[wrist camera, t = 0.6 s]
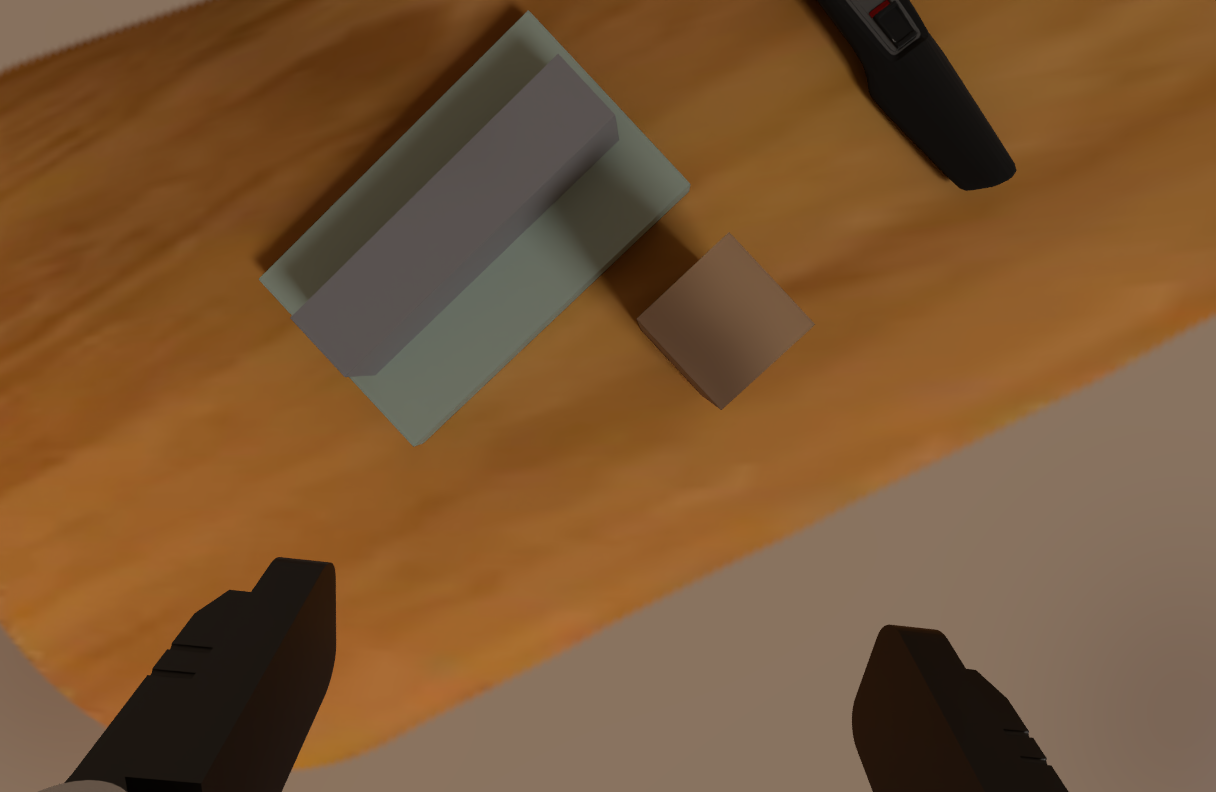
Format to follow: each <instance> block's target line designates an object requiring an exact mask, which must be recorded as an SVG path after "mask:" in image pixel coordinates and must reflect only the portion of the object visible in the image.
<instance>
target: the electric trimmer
mask: <svg viewBox="0 0 1216 792" xmlns="http://www.w3.org/2000/svg"><path fill="white" fill-rule="evenodd" d="M817 1H818V2H819V3H820V5H821V6H822V7H823V9H824V10H825V11H826V13H827V14H828V15H829V17H830V18H831V19H832V21H833V22H834V23H835V25H836V26H837V27H838V29H839V30H840V31H841V33H842V34H843V35H844V37H845V38H846V39H847V41H848V42H849V43H850V45H851V46H852V48H853V49H854V51H855V52H856V54H857V56H858V57H859V59H860V60H861V62H862V64H863V66H864V70H865V73H866V77H867V82H868V88H869V93H870V95H871V97H872V98H873V99H874V100H875V101H876V103H877V104H878V105H879V106H880V107H881V108H882V110H883V111H884V112H885V113H886V114H887V115H888V116H889V117H890V118H891V119H892V120H893V121H894V122H895V123H896V124H897V125H898V126H899V127H900V128H901V129H902V130H903V131H904V132H905V134H906V135H907V136H908V137H909V138H910V139H911V140H912V141H913V142H914V143H915V144H916V145H917V146H918V147H919V148H920V149H921V150H922V151H923V152H924V153H925V154H926V155H927V156H928V157H929V158H930V159H931V160H932V161H933V162H934V163H935V164H936V165H937V166H938V167H939V168H940V169H941V170H942V172H943V173H944V174H945V175H946V176H947V177H948V178H949V179H950V180H951V181H952V182H953V183H954V184H956V185H957V186H958V187H959V188H960V189H963V190H966V191H967V190H976V189H982V188H988V187H993V186H996V185H999V184H1001V183H1003V182H1005V181H1007V180H1009V179H1010V178H1012V177H1013V175H1014V174H1015V172H1016V167H1015V163H1014V162H1013V160H1012V159H1011V157H1010V156H1009V154H1008V152H1007V151H1006V149H1005V148H1004V146H1003V144H1002V143H1001V141H1000V140H999V138H998V137H997V135H996V133H995V132H994V130H993V129H992V127H991V126H990V124H989V122H988V121H987V119H986V118H985V116H984V115H983V113H982V112H981V110H980V108H979V107H978V105H977V104H976V102H975V101H974V99H973V98H972V96H971V94H970V93H969V91H968V90H967V88H966V87H965V85H964V84H963V82H962V81H961V79H960V77H959V76H958V74H957V73H956V71H955V70H954V68H953V67H952V65H951V63H950V62H949V60H948V59H947V57H946V56H945V54H944V53H943V51H942V50H941V49H940V47H939V46H938V44H937V43H936V42H935V40H934V39H933V38H932V36H931V35H930V34H929V32H928V30H927V29H926V27H925V25H924V24H923V22H922V20H921V18H920V17H919V15H918V13H917V12H916V10H915V8H914V7H913V5H912V4H911V2H910V1H909V0H817Z"/></svg>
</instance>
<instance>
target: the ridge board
mask: <svg viewBox="0 0 1216 792" xmlns="http://www.w3.org/2000/svg"><path fill="white" fill-rule="evenodd" d="M689 188H690V183H689V182H688V181H687V180H686V179H685V178H684V177H683V176H682V175H681V174H680V172H679V171H678V170H677V169H676V168H675V167H674V166H673V165H672V164H671V163H670V162H669V161H668V160H667V158H666V157H665V156H664V155H663V154H662V153H661V152H660V151H659V150H658V149H657V148H656V147H655V146H654V145H653V143H652V142H651V141H650V140H649V139H648V138H647V137H646V136H645V135H644V134H643V133H642V132H641V131H640V129H639V128H638V127H637V126H636V125H635V124H634V123H633V122H632V121H631V120H630V119H629V118H628V117H627V116H626V114H625V113H624V112H623V111H622V110H621V109H620V108H619V107H618V106H617V105H616V104H615V103H614V102H613V101H612V99H611V98H610V97H609V96H608V95H607V94H606V93H605V92H604V91H603V90H602V89H601V88H600V87H599V85H598V84H597V83H596V82H595V81H594V80H593V79H592V78H591V77H590V76H589V75H588V74H587V73H586V72H585V70H584V69H583V68H582V67H581V66H580V65H579V64H578V63H577V62H576V61H575V60H574V59H573V58H572V56H571V55H570V54H569V53H568V52H567V51H566V50H565V49H564V48H563V47H562V46H561V45H560V44H559V43H558V41H557V40H556V39H555V38H554V37H553V36H552V35H551V34H550V33H549V32H548V31H547V30H546V29H545V27H544V26H543V25H542V24H541V23H540V22H539V21H538V20H537V19H536V18H535V17H534V16H533V15H532V14H531V12H530V11H529V10H528V11H527V12H526V13H525V14H524V15H523V16H522V17H521V18H520V19H519V20H518V21H517V22H516V23H515V24H514V25H513V26H512V27H511V28H510V29H509V30H508V31H507V32H506V33H505V34H504V35H503V36H502V37H501V38H500V39H499V40H498V41H497V42H496V43H495V44H494V45H493V46H492V47H491V48H490V49H489V50H488V51H487V52H486V53H485V54H484V55H483V56H482V57H481V58H480V59H479V60H478V61H477V62H476V63H475V64H474V65H473V66H472V67H471V68H470V69H469V70H468V71H467V72H466V73H465V74H464V75H463V76H462V77H461V78H460V79H459V80H458V81H457V82H456V83H455V84H454V85H453V86H452V87H451V88H450V89H449V90H448V91H447V92H446V93H445V94H444V95H443V96H442V97H441V98H440V99H439V100H438V101H437V102H436V103H435V104H434V105H433V106H432V107H431V108H430V109H429V110H428V111H427V112H426V113H425V114H424V115H423V116H422V117H421V118H420V119H419V120H418V121H417V122H416V123H415V124H414V125H413V126H412V127H411V128H410V129H409V130H408V131H407V132H406V133H405V134H404V135H403V136H402V137H401V138H400V139H399V140H398V141H397V142H396V143H395V144H394V145H393V146H392V147H391V148H390V149H389V150H388V151H387V152H386V153H385V154H384V155H383V156H382V157H381V158H380V159H379V160H378V161H377V162H376V163H375V164H374V165H373V166H372V167H371V168H370V169H369V170H368V171H367V172H366V173H365V174H364V175H363V176H362V177H361V178H360V179H359V180H358V181H357V182H356V183H355V184H354V185H353V186H352V187H351V188H350V189H349V190H348V191H347V192H346V193H345V194H344V195H343V196H342V197H340V198H339V199H338V200H337V201H336V202H335V203H334V204H333V205H332V206H331V207H330V208H329V209H328V210H327V211H326V212H325V213H324V214H323V215H322V216H321V217H320V218H319V219H318V220H317V221H316V222H315V223H314V224H313V225H312V226H311V227H310V228H309V229H308V230H307V231H306V232H305V233H304V234H303V235H302V236H301V237H300V238H299V239H298V240H297V241H296V242H295V243H294V244H293V245H292V246H291V247H290V248H289V249H288V250H287V251H286V252H285V253H284V254H283V255H282V256H281V257H280V258H279V259H278V260H277V261H276V262H275V263H274V264H273V265H272V266H271V267H270V268H269V269H268V270H267V271H266V272H265V273H264V274H263V275H262V276H261V277H260V278H259V280H260V281H261V282H262V283H263V285H264V286H265V287H266V288H267V289H268V290H269V291H270V292H271V293H272V294H273V295H274V296H275V298H276V299H277V300H278V301H279V302H280V303H281V304H282V305H283V306H284V307H285V308H286V309H287V310H288V312H289V313H290V314H291V315H292V316H291V317H290V318H291V319H292V320H293V322H294V323H295V324H296V325H297V326H298V327H299V328H300V329H301V330H302V331H303V332H304V333H305V334H306V336H307V337H308V338H309V339H310V340H311V341H312V342H313V343H314V344H315V345H316V346H317V347H318V349H319V350H320V351H321V352H322V353H323V354H324V355H325V356H326V357H327V358H328V359H329V360H330V361H331V363H332V364H333V365H334V366H335V367H336V368H337V369H338V370H339V371H340V372H341V373H342V374H343V376H344V377H350V379H351V380H352V381H353V382H354V383H355V384H356V385H357V386H358V387H359V388H360V389H361V390H362V391H363V393H364V394H365V395H366V396H367V397H368V398H369V399H370V400H371V401H372V402H373V403H374V404H375V406H376V407H377V408H378V409H379V410H380V411H381V412H382V413H383V414H384V415H385V416H386V417H387V418H388V420H389V421H390V422H391V423H392V424H393V425H394V426H395V427H396V428H397V429H398V430H399V431H400V433H401V434H402V435H403V436H404V437H405V438H406V439H407V440H408V441H409V442H410V443H411V444H412V445H413V447H414V446H417V445H420V444H422V443H424V442H425V441H426V440H427V439H428V438H429V437H430V436H431V435H433V434H434V433H435V432H436V431H437V430H438V429H439V428H440V427H441V426H442V425H443V424H444V423H445V422H446V421H447V420H448V419H449V418H450V417H451V416H453V415H454V414H455V413H456V412H457V411H458V410H459V409H460V408H461V407H462V406H463V405H464V404H465V403H466V402H467V401H468V400H469V399H470V398H472V397H473V396H474V395H475V394H476V393H477V392H478V391H479V390H480V389H481V388H482V387H483V386H484V385H485V384H486V383H487V382H488V381H489V380H491V379H492V378H493V377H494V376H495V375H496V374H497V373H498V372H499V371H500V370H501V369H502V368H503V367H504V366H505V365H506V364H507V363H508V362H510V361H511V360H512V359H513V358H514V357H515V356H516V355H517V354H518V353H519V352H520V351H521V350H522V349H523V348H524V347H525V346H526V345H527V344H529V343H530V342H531V341H532V340H533V339H534V338H535V337H536V336H537V335H538V334H539V333H540V332H541V331H542V330H543V329H544V328H545V327H546V326H548V325H549V324H550V323H551V322H552V321H553V320H554V319H555V318H556V317H557V316H558V315H559V314H560V313H561V312H562V311H563V310H564V309H565V308H566V307H568V306H569V305H570V304H571V303H572V302H573V301H574V300H575V299H576V298H577V297H578V296H579V295H580V294H581V293H582V292H583V291H584V290H585V289H587V288H588V287H589V286H590V285H591V284H592V283H593V282H594V281H595V280H596V279H597V278H598V277H599V276H600V275H601V274H602V273H603V272H604V271H606V270H607V269H608V268H609V267H610V266H611V265H612V264H613V263H614V262H615V261H616V260H617V259H618V258H619V257H620V256H621V255H622V254H623V253H625V252H626V251H627V250H628V249H629V248H630V247H631V246H632V245H633V244H634V243H635V242H636V241H637V240H638V239H639V238H640V237H641V236H642V235H644V234H645V233H646V232H647V231H648V230H649V229H650V228H651V227H652V226H653V225H654V224H655V223H656V222H657V221H658V220H659V219H660V218H661V217H662V216H664V215H665V214H666V213H667V212H668V211H669V210H670V209H671V208H672V207H673V206H674V205H675V204H676V203H677V202H678V201H679V200H680V199H681V198H683V197H684V196H685V195H686V194H687V193H688V192H689Z"/></svg>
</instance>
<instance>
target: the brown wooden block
mask: <svg viewBox="0 0 1216 792" xmlns="http://www.w3.org/2000/svg"><path fill="white" fill-rule="evenodd" d="M637 321H638V324H639V326H640V329H641V330H642V332H643V333H644V334H645V335H646V336H647V337H648V338H649V339H650V340H651V341H652V342H653V343H654V344H655V346H656V347H657V348H658V349H659V350H660V351H661V352H662V353H663V354H664V355H665V356H666V357H667V358H668V359H669V361H670V362H671V363H672V364H673V365H674V366H675V367H676V368H677V369H678V370H679V371H680V372H681V373H682V375H683V376H684V377H685V378H686V379H687V380H688V381H689V382H690V383H691V384H692V385H693V386H694V387H695V389H696V390H697V391H698V392H699V393H700V394H701V395H702V396H703V397H704V398H706V399H707V400H709V401H710V402H711V403H713V404H714V405H715V406H717V407H718V408H719V409H721V410H722V409H723V408H724V407H725V406H726V405H727V404H728V403H730V402H731V401H732V400H733V399H734V398H735V397H736V396H737V395H738V394H739V393H741V392H742V391H743V390H744V389H745V388H746V387H747V386H748V385H749V384H750V383H752V382H753V381H754V380H755V379H756V378H757V377H758V376H759V375H760V374H761V373H762V372H764V371H765V370H766V369H767V368H768V367H769V366H770V365H771V364H772V363H773V362H775V361H776V360H777V359H778V358H779V357H780V356H781V355H782V354H783V353H784V352H786V351H787V350H788V349H789V348H790V347H791V346H792V345H793V344H794V343H795V342H796V341H798V340H799V339H800V338H801V337H802V336H803V335H804V334H805V333H806V332H807V331H809V330H810V329H811V328H812V327H813V326H814V325H815V324H814V323H813V322H812V321H811V320H810V318H809V317H808V316H807V315H806V314H805V313H804V312H803V311H802V310H801V309H800V308H799V307H798V306H797V304H796V303H795V302H794V301H793V300H792V299H791V298H790V297H789V296H788V295H787V294H786V293H785V292H784V291H783V289H782V288H781V287H780V286H779V285H778V284H777V283H776V282H775V281H774V280H773V279H772V278H771V277H770V275H769V274H768V273H767V272H766V271H765V270H764V269H763V268H762V267H761V266H760V265H759V264H758V263H757V262H756V260H755V259H754V258H753V257H752V256H751V255H750V254H749V253H748V252H747V251H746V250H745V249H744V248H743V246H742V245H741V244H740V243H739V242H738V241H737V240H736V239H735V238H734V237H733V236H732V235H731V234H730V233H728V234H726V235H725V236H724V237H723V238H722V239H721V240H720V241H719V242H718V243H717V244H716V245H715V246H714V247H713V248H712V249H710V250H709V251H708V252H707V253H706V254H705V255H704V256H703V257H702V258H701V259H700V260H699V261H698V262H697V263H696V264H694V265H693V266H692V267H691V268H690V269H689V270H688V271H687V272H686V273H685V274H684V275H683V276H682V277H681V278H679V279H678V280H677V281H676V282H675V283H674V284H673V285H672V286H671V287H670V288H669V289H668V290H667V291H666V292H665V293H663V294H662V295H661V296H660V297H659V298H658V299H657V300H656V301H655V302H654V303H653V304H652V305H651V306H650V307H649V308H647V309H646V310H645V311H644V312H643V313H642V314H641V315H640V316H639V317H638V318H637Z"/></svg>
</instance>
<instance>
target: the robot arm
mask: <svg viewBox="0 0 1216 792" xmlns="http://www.w3.org/2000/svg"><path fill="white" fill-rule="evenodd" d="M335 654H336V576H335V568H334V565H333V564H332V563H329V562H320V561H311V560H301V559H292V558H283V557H278V558H276V559H274V560H273V561H272V563H271V564H270V565H269V567H268V568H267V570H266V571H265V573H264V574H263V576H262V577H261V578H260V580H259V581H258V583H257V584H256V586H255V587H254V589H253V590H252V592H245V591H236V590H229V591H227V592H226V593H224V594H223V595H221V596H220V597H218V598H217V599H215V600H214V601H212V602H211V603H209V604H208V605H206V606H205V607H203V608H202V609H201V610H199V611H198V612H196V613H195V614H194V615H193V616H192V618H191V619H190V620H189V621H188V623H187V624H186V625H185V627H184V628H183V629H182V631H181V632H180V633H179V635H178V636H177V637H176V639H175V640H174V641H173V642H172V646H171V649H170V650H168V649H167V650H166V652H165V653H164V654H163V656H162V657H161V658H160V659H159V661H158V662H157V663H156V665H155V666H154V667H153V670H152V674H151V675H147V677H146V678H145V679H144V680H143V682H142V683H141V684H140V686H139V687H138V688H137V690H136V691H135V692H134V694H133V695H132V696H131V697H130V699H129V700H128V701H127V703H126V704H125V705H124V707H123V708H122V709H121V711H120V712H119V713H118V715H117V716H116V717H115V718H114V720H113V721H112V722H111V724H110V725H109V726H108V728H107V729H106V730H105V732H104V733H103V734H102V735H101V737H100V738H99V739H98V741H97V742H96V743H95V745H94V746H93V747H92V749H91V750H90V751H89V753H88V754H87V755H86V756H85V758H84V759H83V760H82V762H81V763H80V764H79V766H78V767H77V768H76V770H75V771H74V772H73V774H72V775H71V776H70V777H69V778H68V779H67V781H66V782H65V783H63V784H59V785H56V786H53V787H50V788H47V789H44V790H42V791H39V792H282V790H283V787H284V785H285V783H286V781H287V779H288V776H289V774H290V772H291V770H292V767H293V765H294V763H295V761H296V759H297V756H298V754H299V752H300V750H301V747H302V745H303V743H304V741H305V739H306V736H307V734H308V732H309V730H310V727H311V725H312V723H313V721H314V719H315V716H316V714H317V712H318V710H319V707H320V705H321V703H322V701H323V699H324V696H325V694H326V691H327V689H328V686H329V683H330V679H331V676H332V672H333V667H334V661H335ZM852 730H853V737H854V742H855V745H856V748H857V751H858V754H859V756H860V759H861V762H862V764H863V767H864V769H865V772H866V775H867V777H868V780H869V783H870V785H871V788H872V791H873V792H1068V790H1067V789H1066V788H1065V786H1064V784H1063V783H1062V781H1061V780H1060V778H1059V777H1058V775H1057V774H1056V772H1055V771H1054V769H1053V767H1052V766H1050V765H1047V763H1046V757H1045V755H1044V754H1043V752H1042V751H1041V750H1040V748H1039V746H1038V745H1037V743H1036V742H1035V740H1034V738H1029V734H1028V733H1029V731H1028V729H1027V728H1026V726H1025V725H1024V723H1023V722H1022V720H1021V719H1020V717H1019V716H1018V714H1017V713H1016V711H1015V710H1014V708H1013V706H1012V705H1011V704H1010V702H1009V700H1008V699H1007V698H1006V697H1005V696H1004V695H1003V694H1002V693H1000V692H999V691H998V690H997V689H996V688H995V687H994V686H993V685H992V684H991V683H989V682H988V681H987V680H986V679H985V678H984V677H983V676H982V675H981V674H980V673H978V672H977V671H976V670H971V669H966V668H965V667H964V665H963V663H962V662H961V660H960V659H959V657H958V655H957V654H956V652H955V650H954V649H953V647H952V646H951V644H950V642H949V641H948V639H947V638H946V636H945V635H944V634H943V633H942V632H940V631H938V630H934V629H924V628H915V627H906V626H897V625H886V626H884V627H883V628H882V629H881V630H880V632H879V634H878V637H877V639H876V642H875V645H874V647H873V650H872V653H871V656H870V659H869V662H868V664H867V667H866V670H865V673H864V675H863V678H862V681H861V684H860V687H859V689H858V692H857V695H856V698H855V701H854V706H853V711H852Z"/></svg>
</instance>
